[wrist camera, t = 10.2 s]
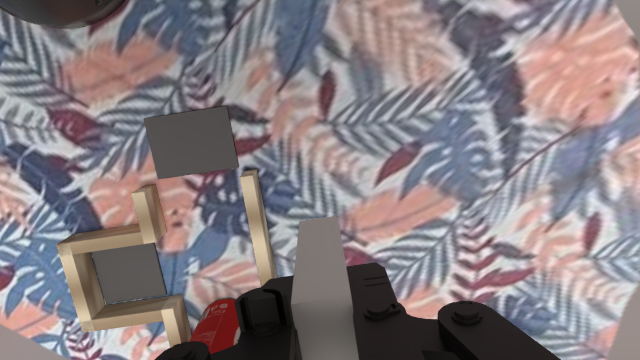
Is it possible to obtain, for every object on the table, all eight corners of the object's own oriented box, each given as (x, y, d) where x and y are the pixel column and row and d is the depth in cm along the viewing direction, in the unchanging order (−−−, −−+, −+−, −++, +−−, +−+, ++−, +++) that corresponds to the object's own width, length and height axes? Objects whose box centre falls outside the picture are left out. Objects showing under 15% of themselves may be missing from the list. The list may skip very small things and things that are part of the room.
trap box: (62, 198, 44) (34, 211, 39) (256, 169, 43) (250, 178, 39) (115, 378, 48) (95, 407, 44) (291, 353, 48) (288, 380, 44)
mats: (59, 131, 42) (57, 131, 42) (226, 105, 42) (226, 105, 42) (107, 302, 46) (106, 303, 46) (260, 279, 46) (260, 281, 46)
